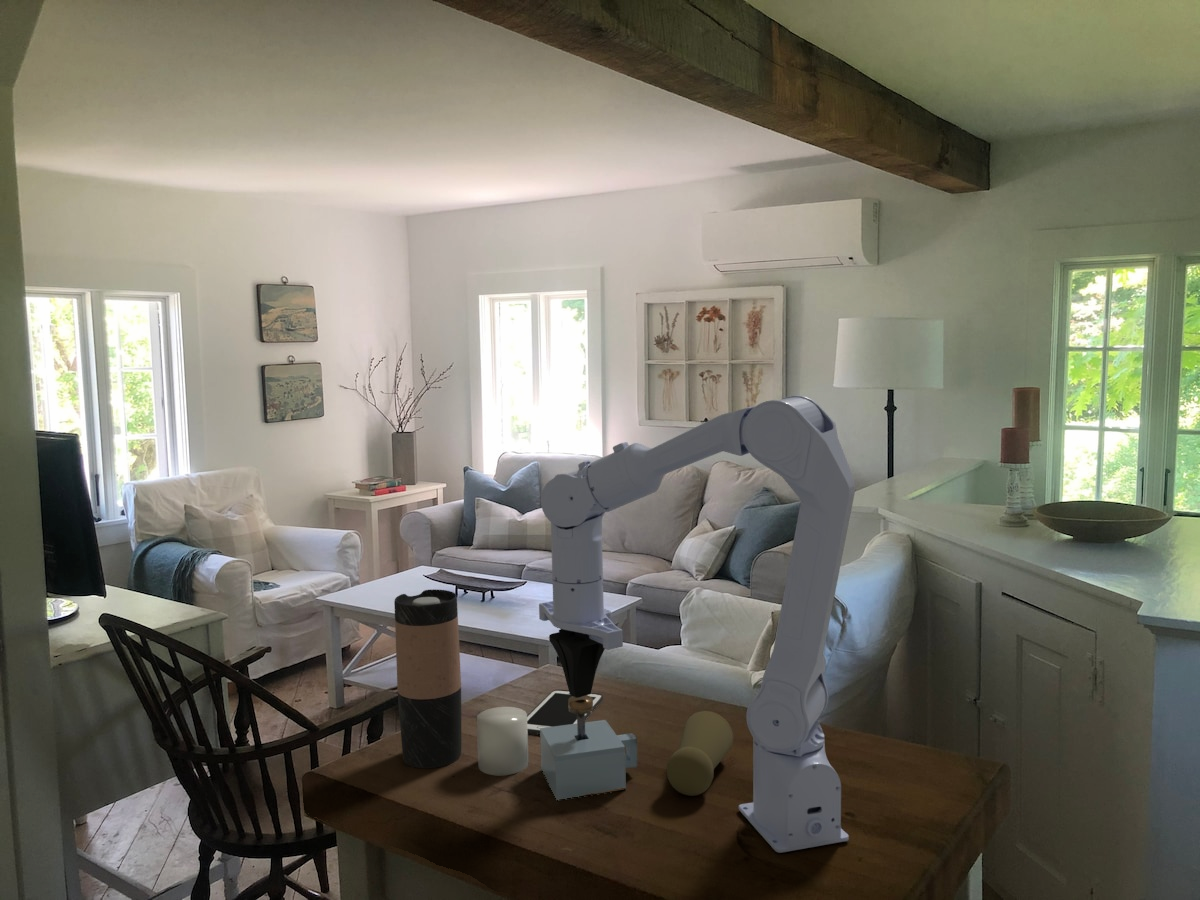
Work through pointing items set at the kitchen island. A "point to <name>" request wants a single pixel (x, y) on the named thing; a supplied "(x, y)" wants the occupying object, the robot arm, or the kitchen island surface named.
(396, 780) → the kitchen island surface
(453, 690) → the travel mug
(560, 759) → the blue box with knob
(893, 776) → the kitchen island surface
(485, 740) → the white pillar candle
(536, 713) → the cell phone
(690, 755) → the cork
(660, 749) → the kitchen island surface
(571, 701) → the plunger
